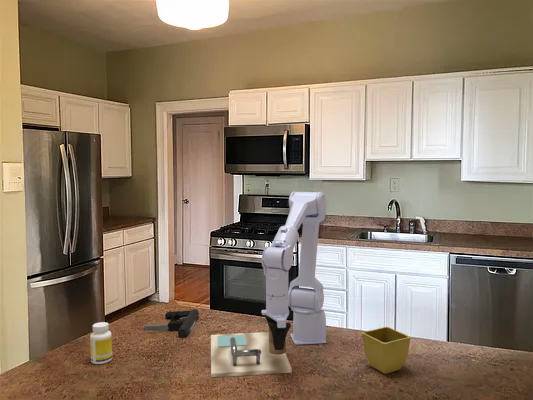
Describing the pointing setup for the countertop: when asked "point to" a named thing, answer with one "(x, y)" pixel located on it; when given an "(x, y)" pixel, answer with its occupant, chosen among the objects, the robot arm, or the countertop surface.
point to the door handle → (177, 322)
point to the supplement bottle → (101, 343)
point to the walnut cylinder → (271, 346)
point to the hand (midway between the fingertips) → (277, 345)
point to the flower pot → (386, 348)
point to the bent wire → (243, 352)
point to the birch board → (247, 358)
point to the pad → (225, 340)
